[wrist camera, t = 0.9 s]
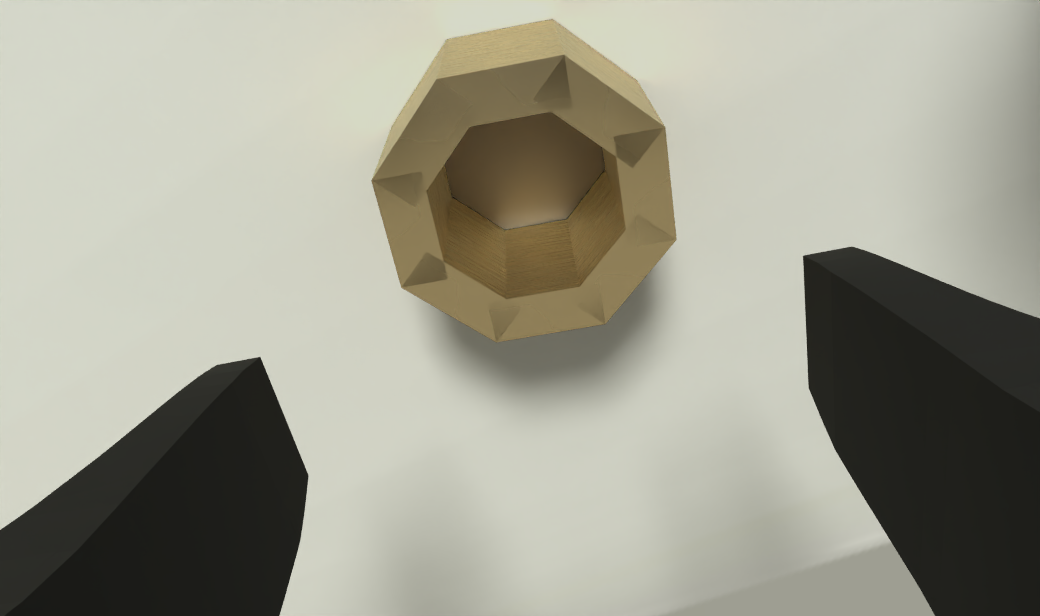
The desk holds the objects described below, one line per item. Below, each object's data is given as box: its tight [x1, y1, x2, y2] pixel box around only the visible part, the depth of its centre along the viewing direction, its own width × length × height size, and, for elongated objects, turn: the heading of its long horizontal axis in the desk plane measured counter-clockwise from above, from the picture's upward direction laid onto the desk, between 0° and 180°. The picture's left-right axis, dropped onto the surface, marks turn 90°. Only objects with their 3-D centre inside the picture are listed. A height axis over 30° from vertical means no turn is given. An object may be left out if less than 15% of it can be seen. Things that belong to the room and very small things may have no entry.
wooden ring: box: [372, 19, 676, 342], centre depth 18 cm, size 6×6×4 cm
